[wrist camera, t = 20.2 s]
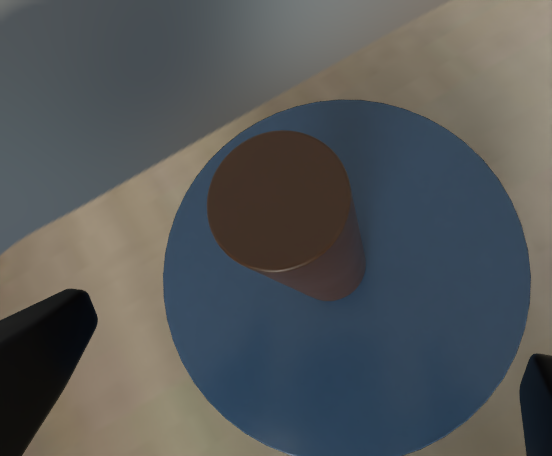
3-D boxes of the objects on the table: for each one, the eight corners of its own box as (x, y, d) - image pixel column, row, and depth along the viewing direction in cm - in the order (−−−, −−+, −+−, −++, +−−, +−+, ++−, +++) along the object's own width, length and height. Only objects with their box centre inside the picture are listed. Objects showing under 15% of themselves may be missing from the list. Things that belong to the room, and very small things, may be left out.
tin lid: (611, 285, 15) (1009, 212, 5) (313, 539, 15) (209, 877, 6) (345, 55, 19) (313, -198, 10) (121, 255, 19) (-110, 189, 10)
